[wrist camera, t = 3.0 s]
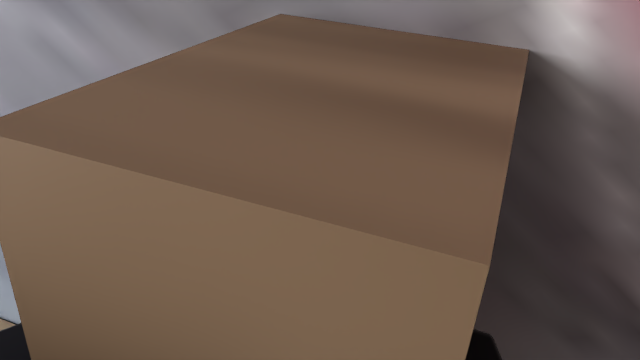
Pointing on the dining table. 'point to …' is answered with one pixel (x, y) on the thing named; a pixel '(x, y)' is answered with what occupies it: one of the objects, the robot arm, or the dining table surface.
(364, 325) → the wooden block with plate
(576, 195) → the dining table surface
